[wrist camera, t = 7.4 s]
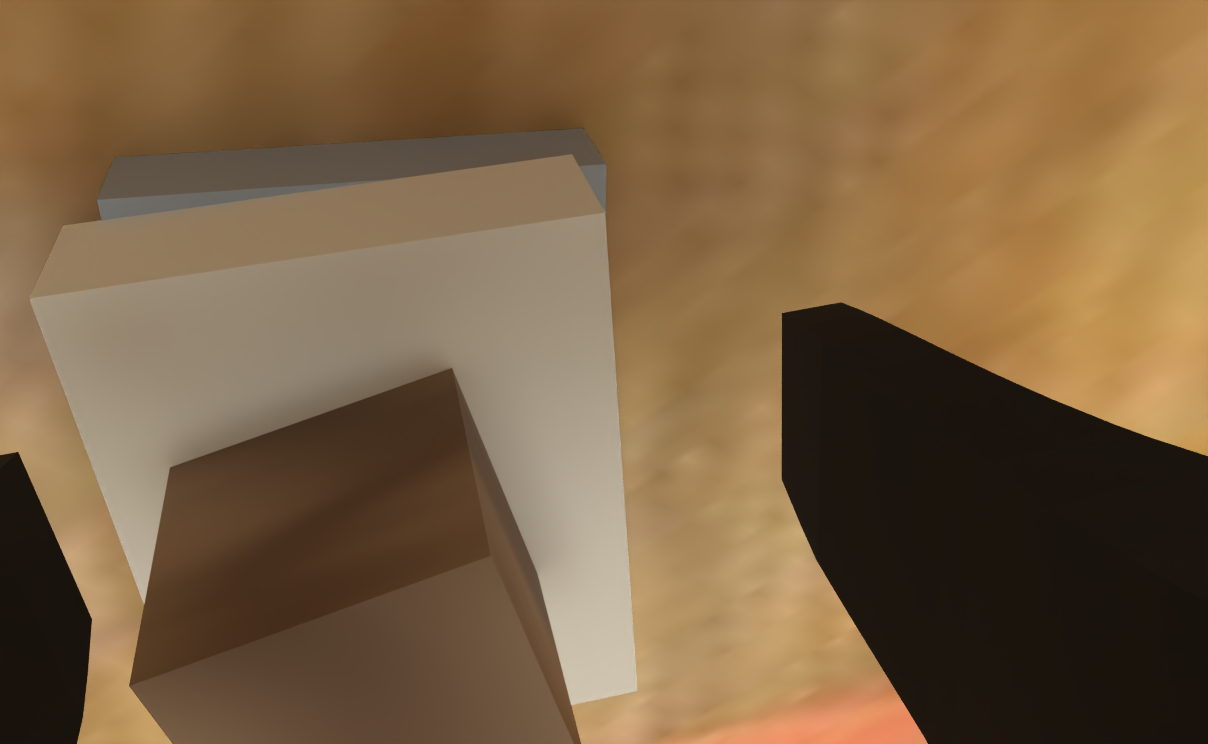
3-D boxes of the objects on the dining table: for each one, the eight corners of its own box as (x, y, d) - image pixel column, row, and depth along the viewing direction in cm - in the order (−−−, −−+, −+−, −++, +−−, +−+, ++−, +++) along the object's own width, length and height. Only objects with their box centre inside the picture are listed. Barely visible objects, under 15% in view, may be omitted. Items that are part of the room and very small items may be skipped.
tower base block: (576, 117, 21) (606, 163, 19) (577, 539, 26) (601, 612, 24) (119, 145, 19) (96, 200, 17) (216, 588, 24) (207, 672, 22)
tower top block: (571, 153, 19) (605, 212, 16) (608, 603, 24) (637, 690, 22) (63, 225, 17) (29, 298, 15) (220, 682, 23) (211, 782, 20)
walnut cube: (452, 368, 17) (490, 555, 13) (536, 574, 20) (590, 781, 16) (170, 467, 17) (128, 685, 13) (291, 662, 19) (286, 894, 16)
